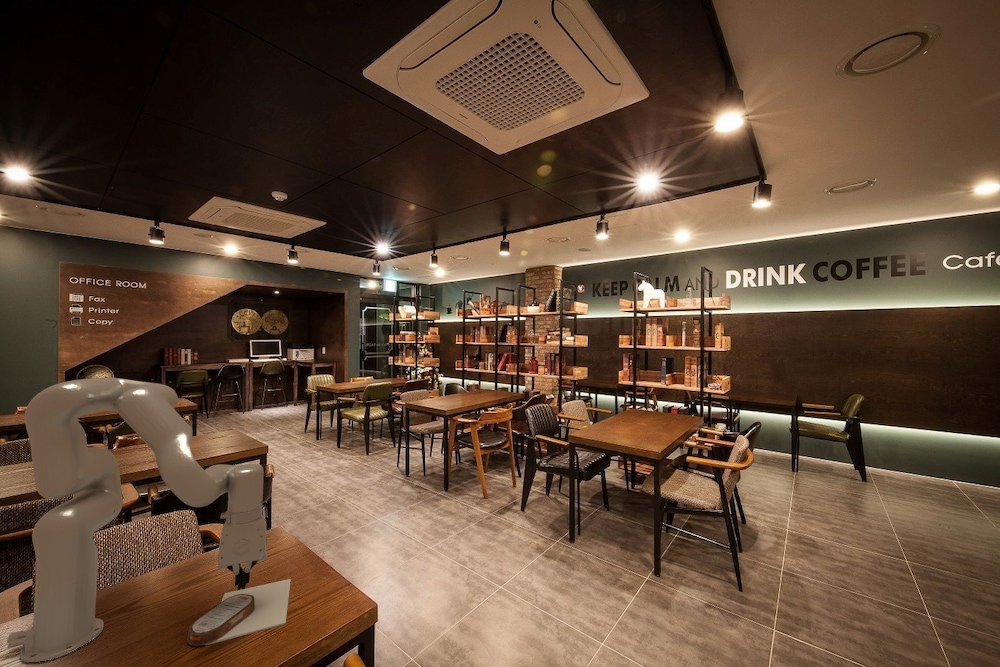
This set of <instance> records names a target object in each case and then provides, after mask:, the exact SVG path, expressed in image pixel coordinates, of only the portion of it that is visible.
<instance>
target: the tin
mask: <svg viewBox="0 0 1000 667" xmlns="http://www.w3.org/2000/svg"><path fill="white" fill-rule="evenodd" d="M254 604H255V599H254V596H252V595H248V594H238V595H235V596H232V597H229V598H227V599H225V600H224V601H222V600H221V602H219V603H218V604H216V605H215V606H214V607H213V608H211V609H209V610H207V611H206V612H205V613H204V614H202V615H201V616H199V617H198V618H196V619H195V620H194V621H192V623H191V624H190V625H189V626H188V631H187V632H188V633H187V638H186V641H187V644H189V645H191V646H194V647H195V646H197V647H198V646H206V645H205V644H208V643H211V642H213V641H216V640H218V639H219V638H221V637H222V636H224V635H225V634H226V633H228V632H229V631H230V630H231V629H233V628H234V627H235V626H236V625H238V624H239V623H240V622H242V621H243V620H244V619H245V618H247V617H248V616H249V615H250V614H252V612H253V611H254V609H255V605H254Z"/></svg>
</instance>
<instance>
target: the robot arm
mask: <svg viewBox="0 0 1000 667" xmlns="http://www.w3.org/2000/svg"><path fill="white" fill-rule="evenodd" d="M178 402H179V401H178V394H177V393H176V391H175V390H174V389H173V388H172V387H170V386H168V385H166V384H162V383H156V382H147V381H141V380H134V379H125V378H120V377H119V378H118V377H96V378H95V377H94V378H83V379H82V378H81V379H74V380H69V381H64V382H59V383H55V384H53V385H51V386H48V387H46V388H45V389H43V390H41V391H40V392H38V393H37V394H36V395H35V396H34V397H33V398H31V400H30V401H29V403H28V404H27V406H26V407H25V412H24V424H25V427H26V432H27V435H28V440H29V444H30V454H31V462H32V469H33V476H34V483H35V488H36V490H37V493H38V494H39V495H40V496H41V497H43V498H44V499H48V500H57V499H65V498H67V497H70V496H72V497H73V498H72V499H69V500H67V501H65V502H63V503H61V504H59V505H56V506H55V507H53V508H51V509H50V510H49V511H47V512H46V513H44V514H43V515H42V516H41V517H40V518H39V519H38V520H37V522H36V523H35V525H34V527H33V529H32V533H31V537H32V538H31V539H32V540H31V541H32V544H33V548H34V552H35V565H36V566H35V568H36V569H35V591H34V605H33V608H34V609H33V622H32V627H30V629H26V630H19V631H15V632H11V633H10V634H9V635H8V637H7V640H6V643H7V648H8V649H12V648H15V647H18V646H22V647H23V648H22V649H21V650H20V654H19V655H20V657H19V659H20V658H21V659H20V661H21V660H22V661H25V662H39V663H41V662H40V661H45V662H47V661H46V660H49V661H52V660H55V659H59V658H61V657H63V656H66V655H69V654H71V653H73V652H75V651H77V650H78V649H77V648H79V647H81V646H83V645H84V644H86V643H88V642H89V643H91V642H92V641H94V640H95V639H96V638H97V637H98V636H99V635H100V634H101V633H102V632H103V629H104V625H105V624H104V620H103V619H101V618H98V617H96V603H97V601H96V600H97V585H98V584H97V582H98V568H99V567H98V566H99V552H98V546H97V545H96V543H95V542H96V541H95V540H94V533H96V532H97V531H98V530H99V529H101V528H103V527H104V526H106V525H108V524H109V523H110V522H112V521H113V520H114V519H116V518H117V516H118V515H119V514H120V512H121V511H122V508H123V503H124V502H123V501H124V497H123V496H124V495H123V488H122V482H121V474H120V468H119V463H118V460H117V458H116V457H115V454H114V453H112V452H111V451H110V450H109V449H106V448H104V447H101V446H88V443H87V435H86V431H85V430H84V428H83V426H82V425H81V423H80V422H79V421H78V419H79V418H80V417H81V416H87V415H90V414H97V413H101V412H105V411H106V412H107V411H112V412H117V414H119V416H120V417H121V418H122V419H123V420H124V421H125V423H126V424H127V425H128V426H129V427H131V429H132V430H133V431H134V432H135V433H136V434H137V435H138V436H139V438H140V439H141V440H142V441H143V442H144V443H145V444H146V445H147V446H148V447H149V449H151V451H152V452H153V453H154V457H155V463H156V465H157V468H158V472H159V474H160V477H161V479H162V481H163V483H165V485H166V486H167V487H168V489H170V491H171V492H172V493H173V494H174V496H176V497H177V498H178V499H179V500H180V501H181V502H182V503H185V505H187V506H190V507H193V508H203V507H206V506H208V505H210V504H212V503H214V501H216V500H217V499H218V498H219V497H220V496H221V495H224V494H226V493H228V495H227V496H228V500H227V510H226V511H224V512H221V513H220V520H222V519H223V520H226V521H224V523H223V524H222V527H221V533H220V539H219V545H218V553H217V554H218V555H217V557H218V558H217V569H220V570H222V569H224V570H225V569H228V570H229V571H230V572H232V574H233V575H234V576H235V577H234V587H237V590H236V591H238V590H243V589H246V587H247V584H249V583H250V579H251V578H250V577H251V576H250V575H251V570H252V569H253V568H254V567H255V566H256V565H257V564H258V563H261V562H263V561H266V560H267V558H268V552H267V545H268V540H267V539H268V536H267V535H268V534H267V533H268V531H267V520H266V517H265V514H263V495H264V473H265V472H264V467H263V466H262V465H261V464H258V463H257V464H256V463H247V464H242V465H234V464H233V465H232V464H214V465H212V466H208V467H207V468H206V469H204V468H202V466H201V465H200V464H199V462H197V460H196V458H195V457H194V454H193V452H192V440H193V429H192V427H191V426H190V425H189V424H188V423H187V422H186V420H185V419H184V418H183V417H182V416H181V415H180V414H179V413H178V412H177V410H176V409H175V408H176V407H177V405H178ZM242 564H245V566H244V567H242ZM94 638H95V639H94ZM93 639H94V640H93ZM91 640H92V641H91ZM90 641H91V642H90ZM89 643H88V644H89ZM86 645H87V644H86ZM83 647H84V646H83ZM81 648H82V647H81ZM76 649H77V650H76ZM79 649H80V648H79ZM74 650H75V651H74ZM72 651H73V652H72ZM70 652H71V653H70ZM68 653H69V654H68ZM58 657H59V658H58ZM54 658H55V659H54ZM51 659H52V660H51ZM22 661H21V662H22ZM25 662H24V663H25Z"/></svg>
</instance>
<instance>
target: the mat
mask: <svg viewBox="0 0 1000 667" xmlns="http://www.w3.org/2000/svg"><path fill="white" fill-rule="evenodd" d="M291 581H292V579H291V578H287V579H283V580H279V581H273V582H269V583H265V584H261V585H256V586H252V587H247V588H245V589H243V590H242V589H240V590H238V591H237V590H234V591H229V592H224V594H223V596H222V600H221V602H222V601H224V600H225V599H227V598H229V597H232V596H235V595H238V594H248V595H252V596H254V599H255V604H254V605H255V609H254V611H253V612H252V614H250V615H249V616H248V617H247V618H245V619H244V620H243V621H242V622H240V623H239V624H238V625H236V626H235V627H234V628H233V629H231V630H230V631H229V632H228V633H226V634H225V635H224V636H222V637H221V638H219V639H218V640H216V641H213V642H211V643H208V644H205V645H204V646H208V645H212V644H216V643H219V642H224V641H227V640H231V639H232V640H233V639H235V638H238V637H239V638H240V637H242V636H247V635H250V634H254V633H258V632H261V631H265V630H269V629H273V628H276V627H280V626H283V625H286V623H287V616H288V615H287V614H288V607H289V601H290V597H289V596H290V591H291V590H290V589H291V583H290V582H291Z"/></svg>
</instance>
